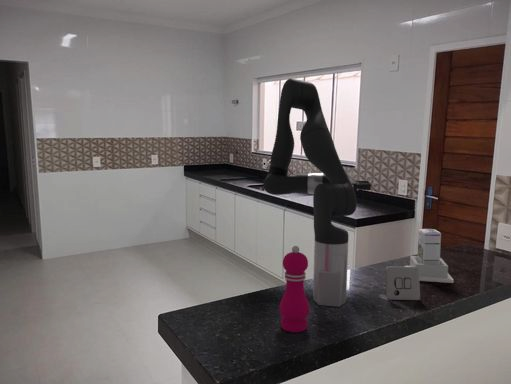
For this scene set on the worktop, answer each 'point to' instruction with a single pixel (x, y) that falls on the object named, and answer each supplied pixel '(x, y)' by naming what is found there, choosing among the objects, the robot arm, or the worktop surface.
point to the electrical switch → (402, 283)
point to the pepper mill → (294, 292)
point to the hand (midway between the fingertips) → (369, 185)
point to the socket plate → (432, 271)
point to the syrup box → (429, 246)
